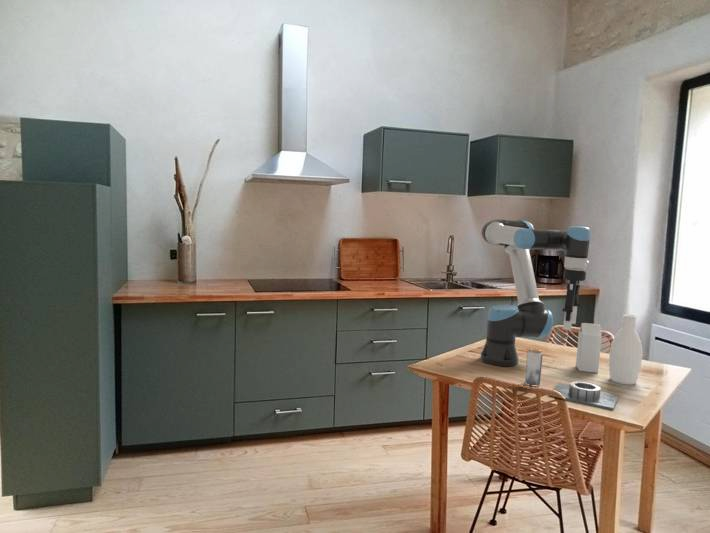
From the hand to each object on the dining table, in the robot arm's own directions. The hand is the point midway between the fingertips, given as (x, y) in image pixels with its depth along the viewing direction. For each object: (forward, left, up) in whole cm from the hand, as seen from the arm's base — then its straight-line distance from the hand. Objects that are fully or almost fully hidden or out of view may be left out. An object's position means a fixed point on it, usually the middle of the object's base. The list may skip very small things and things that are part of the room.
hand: (569, 326), depth 197 cm
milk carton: (+4, +24, -21) cm, 32 cm away
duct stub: (-9, -11, -21) cm, 25 cm away
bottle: (+18, +17, -21) cm, 33 cm away
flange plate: (+9, -13, -21) cm, 26 cm away
